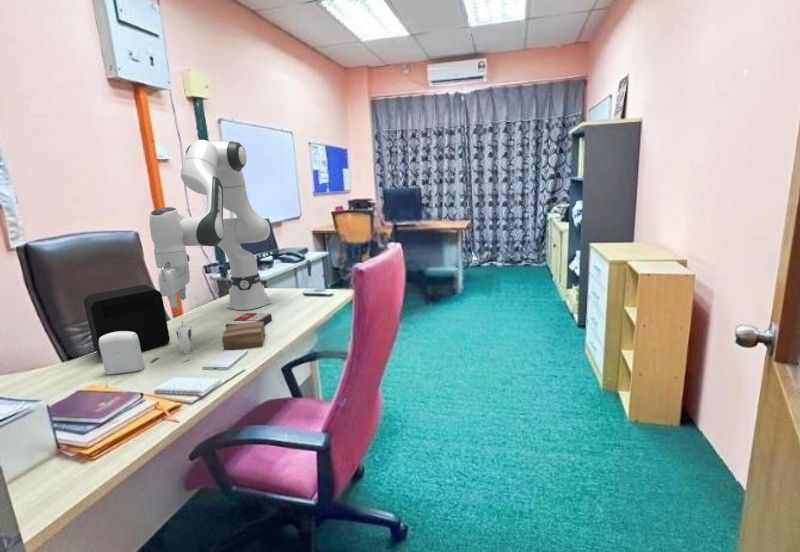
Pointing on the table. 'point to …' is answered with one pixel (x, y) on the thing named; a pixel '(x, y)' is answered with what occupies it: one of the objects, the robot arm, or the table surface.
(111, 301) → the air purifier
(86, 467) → the table surface
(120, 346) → the photo printer
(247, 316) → the book
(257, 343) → the walnut base
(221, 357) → the hard drive
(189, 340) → the milkshake
